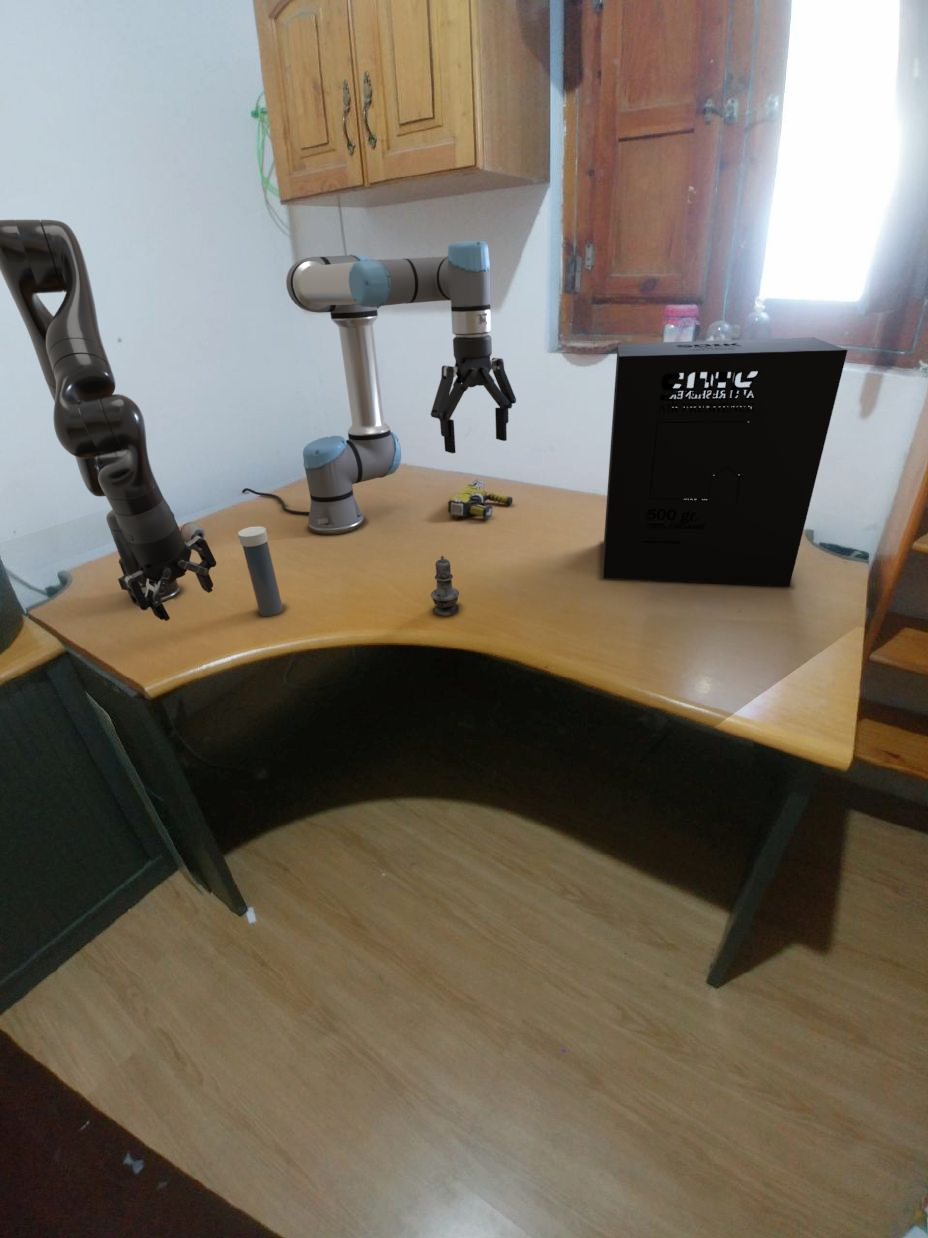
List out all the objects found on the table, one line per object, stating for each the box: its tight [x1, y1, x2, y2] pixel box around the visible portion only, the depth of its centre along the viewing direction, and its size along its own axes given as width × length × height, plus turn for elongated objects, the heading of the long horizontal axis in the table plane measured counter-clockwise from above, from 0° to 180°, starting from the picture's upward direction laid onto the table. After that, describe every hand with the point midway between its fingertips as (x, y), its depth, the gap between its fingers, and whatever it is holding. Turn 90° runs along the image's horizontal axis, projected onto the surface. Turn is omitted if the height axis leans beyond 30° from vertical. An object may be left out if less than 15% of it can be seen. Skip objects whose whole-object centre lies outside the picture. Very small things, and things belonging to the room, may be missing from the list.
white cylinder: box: [237, 525, 269, 547], centre depth 119 cm, size 5×5×2 cm
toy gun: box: [447, 479, 514, 521], centre depth 175 cm, size 5×24×15 cm
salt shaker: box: [430, 555, 461, 616], centre depth 121 cm, size 6×6×12 cm
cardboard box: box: [602, 336, 849, 588], centre depth 126 cm, size 38×20×45 cm, turn 78°
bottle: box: [242, 541, 284, 617], centre depth 123 cm, size 5×5×18 cm
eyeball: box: [180, 521, 206, 544], centre depth 161 cm, size 6×6×6 cm
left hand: (186, 604), depth 104 cm, fingers open, 8 cm apart
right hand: (476, 445), depth 127 cm, fingers open, 13 cm apart
